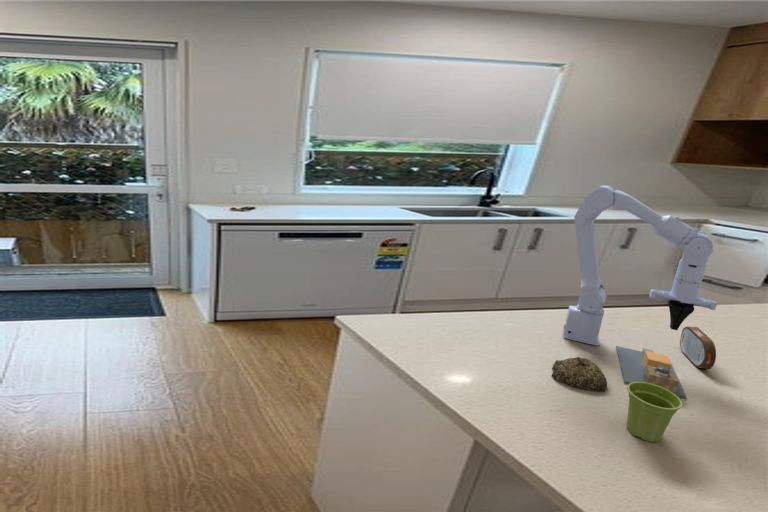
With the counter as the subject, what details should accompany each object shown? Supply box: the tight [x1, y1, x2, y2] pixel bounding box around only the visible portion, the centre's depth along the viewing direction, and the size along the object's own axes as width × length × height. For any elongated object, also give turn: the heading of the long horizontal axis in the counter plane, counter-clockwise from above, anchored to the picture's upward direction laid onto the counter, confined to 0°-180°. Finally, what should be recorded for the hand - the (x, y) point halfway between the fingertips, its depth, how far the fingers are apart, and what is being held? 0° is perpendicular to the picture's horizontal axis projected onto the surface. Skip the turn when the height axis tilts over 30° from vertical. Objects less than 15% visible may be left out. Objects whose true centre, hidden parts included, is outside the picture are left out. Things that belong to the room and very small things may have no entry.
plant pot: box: [626, 382, 683, 443], centre depth 89 cm, size 9×9×9 cm
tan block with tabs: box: [643, 351, 673, 369], centre depth 112 cm, size 5×5×4 cm
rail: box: [641, 347, 655, 357], centre depth 116 cm, size 2×16×2 cm, turn 158°
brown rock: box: [551, 356, 608, 392], centre depth 109 cm, size 13×12×5 cm
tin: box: [679, 326, 717, 370], centre depth 122 cm, size 15×3×8 cm, turn 168°
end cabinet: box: [643, 365, 680, 394], centre depth 107 cm, size 6×5×4 cm
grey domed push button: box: [656, 365, 670, 377], centre depth 106 cm, size 3×3×4 cm
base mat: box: [615, 345, 688, 400], centre depth 115 cm, size 13×21×1 cm, turn 158°
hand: (673, 328), depth 118 cm, fingers closed
